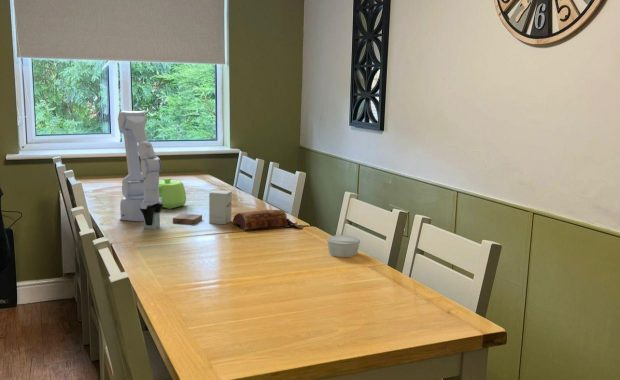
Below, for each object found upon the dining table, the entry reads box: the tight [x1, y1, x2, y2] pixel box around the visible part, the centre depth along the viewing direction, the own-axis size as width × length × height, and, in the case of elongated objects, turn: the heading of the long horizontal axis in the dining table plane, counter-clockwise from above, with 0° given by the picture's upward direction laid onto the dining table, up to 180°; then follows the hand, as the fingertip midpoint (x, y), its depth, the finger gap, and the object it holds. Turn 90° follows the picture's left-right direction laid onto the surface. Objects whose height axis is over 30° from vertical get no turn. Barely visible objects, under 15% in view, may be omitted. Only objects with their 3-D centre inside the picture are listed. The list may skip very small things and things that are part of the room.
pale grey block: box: [143, 212, 161, 230], centre depth 230 cm, size 4×4×6 cm
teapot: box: [159, 177, 187, 210], centre depth 271 cm, size 18×20×13 cm
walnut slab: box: [172, 213, 203, 225], centre depth 243 cm, size 9×9×2 cm
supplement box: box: [208, 189, 233, 225], centre depth 242 cm, size 7×7×13 cm
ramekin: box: [326, 234, 361, 258], centre depth 201 cm, size 11×11×5 cm
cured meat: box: [232, 209, 303, 231], centre depth 239 cm, size 18×25×7 cm
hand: (151, 223), depth 231 cm, fingers closed on pale grey block, 4 cm apart
